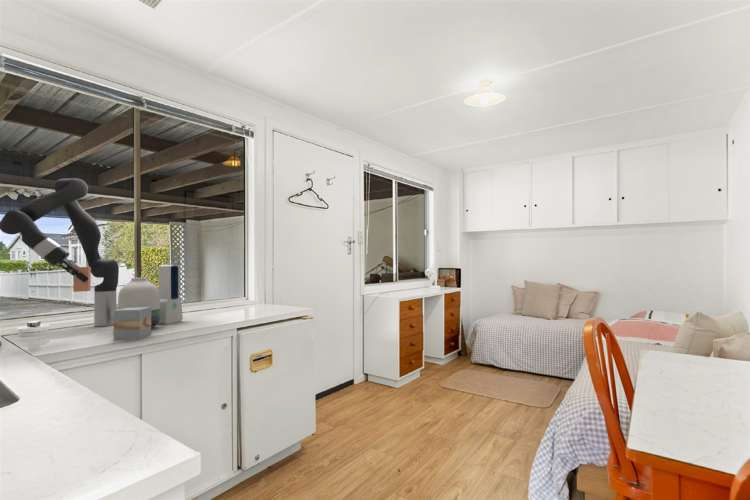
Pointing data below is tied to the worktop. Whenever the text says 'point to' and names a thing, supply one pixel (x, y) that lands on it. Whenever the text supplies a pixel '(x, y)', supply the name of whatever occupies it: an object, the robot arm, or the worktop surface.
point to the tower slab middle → (132, 324)
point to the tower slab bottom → (132, 333)
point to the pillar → (81, 285)
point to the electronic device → (169, 294)
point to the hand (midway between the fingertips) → (87, 280)
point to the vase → (141, 297)
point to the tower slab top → (132, 313)
